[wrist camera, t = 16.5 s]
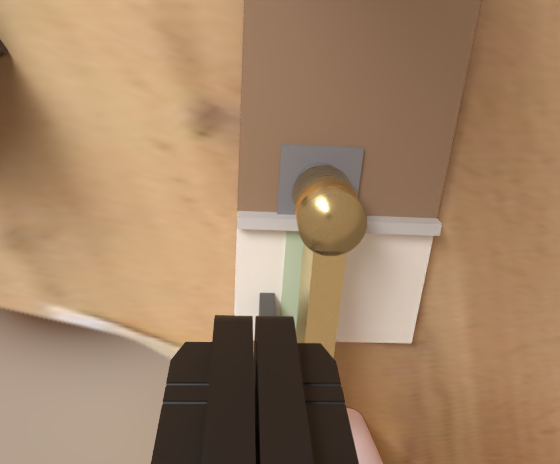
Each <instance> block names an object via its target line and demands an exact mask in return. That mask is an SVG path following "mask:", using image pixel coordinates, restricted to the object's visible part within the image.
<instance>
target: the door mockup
mask: <svg viewBox="0 0 560 464" xmlns="http://www.w3.org/2000/svg"><path fill="white" fill-rule="evenodd" d="M481 2H482V0H244V26H243V57H242V88H241V119H240V150H239V181H238V211H237V242H236V273H235V304H234V316H253V340H254V336H255V318H256V316H293V317H294V322H295V330H296V323H297V311H298V299H299V287H300V275H301V263H302V251H303V241H302V239H301V237H300V234H299V230H298V225H297V220H296V215H295V210H294V205H293V200H292V189H293V185H294V183H295V181H296V179H297V178H298V177H299V175H300V174H301V173H303V172H304V171H305V170H307V169H309V168H311V167H313V166H317V165H329V166H333V167H336V168H338V169H340V170H341V171H342V172H343V173H344V174H345V175H346V176H347V177H348V179H349V181H350V183H351V185H352V187H353V189H354V191H355V193H356V195H357V197H358V199H359V201H360V203H361V205H362V207H363V209H364V211H365V213H366V217H367V228H366V232H365V235H364V237H363V239H362V240H361V242H360V243H359V244H358V245H357V246H356V247H355V248H353V249H352V250H351V251H349V252H347V254H346V262H345V270H344V278H343V287H342V295H341V303H340V311H339V319H338V327H337V335H336V342H368V343H412V339H413V334H414V329H415V324H416V319H417V314H418V310H419V305H420V300H421V295H422V290H423V285H424V280H425V275H426V270H427V266H428V261H429V256H430V251H431V246H432V241H433V236H440V233H441V228H442V224H441V222H440V221H439V220H438V219H437V217H438V212H439V207H440V202H441V197H442V192H443V187H444V183H445V178H446V173H447V168H448V163H449V158H450V153H451V148H452V143H453V139H454V134H455V129H456V124H457V119H458V114H459V109H460V104H461V99H462V95H463V90H464V85H465V80H466V75H467V70H468V65H469V60H470V55H471V51H472V46H473V41H474V36H475V31H476V26H477V21H478V16H479V11H480V7H481Z"/></svg>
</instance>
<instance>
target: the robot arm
mask: <svg viewBox="0 0 560 464" xmlns="http://www.w3.org/2000/svg"><path fill="white" fill-rule="evenodd" d="M151 464H359V461H358V457H357V453H356V448H355V444H354V439H353V435H352V431H351V426H350V422H349V417H348V413H347V409H346V405H345V400H344V395H343V391H342V387H341V382H340V378H339V373H338V369H337V365H336V361H335V360H334V359H333V357H332V356H331V355H330V354H329V353H328V351H327V350H326V349H325V348H324V347H323V345H322V344H321V343H297V337H296V330H295V322H294V317H293V316H256V318H255V336H254V357H253V316H225V315H215V319H214V330H213V341H212V342H185V343H184V345H183V346H182V347H181V348H180V349H179V351H178V352H177V353H176V354H175V356H174V357H173V358H172V359H171V361H170V367H169V372H168V377H167V385H166V388H165V393H164V398H163V405H162V409H161V414H160V419H159V424H158V430H157V435H156V440H155V445H154V450H153V456H152V461H151Z"/></svg>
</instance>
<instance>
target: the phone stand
mask: <svg viewBox="0 0 560 464" xmlns="http://www.w3.org/2000/svg"><path fill="white" fill-rule="evenodd" d="M6 53H7V49H6V47H5V46H4V44H3V43H2V41H1V40H0V57H1V56H3V55H4V54H6Z"/></svg>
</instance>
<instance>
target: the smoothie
mask: <svg viewBox="0 0 560 464" xmlns="http://www.w3.org/2000/svg"><path fill="white" fill-rule="evenodd" d="M346 409H347V413H348V417H349V422H350V426H351V431H352V435H353V439H354V444H355V448H356V453H357V457H358V461H359V464H383V462H382V460H381V457H380V455H379V453H378V451H377V448H376V446H375V444H374V441H373V439H372V437H371V435H370V432H369V430H368V428H367V426H366V423H365V421H364V419H363V417H362V415H361V414H360V413H359V412H358V411H356V410H354V409H351V408H346Z"/></svg>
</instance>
